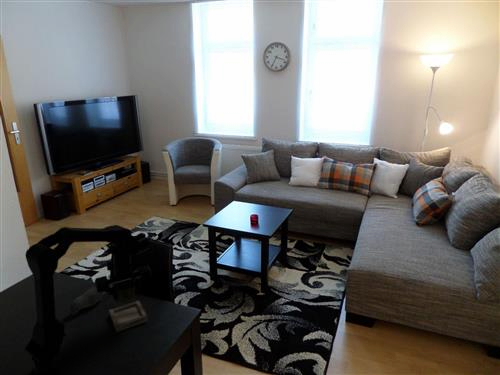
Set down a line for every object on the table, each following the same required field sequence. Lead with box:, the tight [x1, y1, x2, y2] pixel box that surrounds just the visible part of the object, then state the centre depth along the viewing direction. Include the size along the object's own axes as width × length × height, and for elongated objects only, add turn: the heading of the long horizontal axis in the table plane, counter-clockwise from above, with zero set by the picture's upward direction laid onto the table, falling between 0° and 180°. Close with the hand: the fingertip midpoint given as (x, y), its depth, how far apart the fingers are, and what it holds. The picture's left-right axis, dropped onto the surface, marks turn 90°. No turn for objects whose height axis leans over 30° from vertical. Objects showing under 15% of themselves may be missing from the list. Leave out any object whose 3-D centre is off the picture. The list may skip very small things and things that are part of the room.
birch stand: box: [109, 300, 149, 333], centre depth 125 cm, size 11×11×2 cm
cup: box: [113, 278, 136, 306], centre depth 123 cm, size 8×7×8 cm
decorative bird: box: [70, 285, 112, 317], centre depth 132 cm, size 5×16×7 cm, turn 150°
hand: (126, 298), depth 123 cm, fingers closed on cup, 6 cm apart
